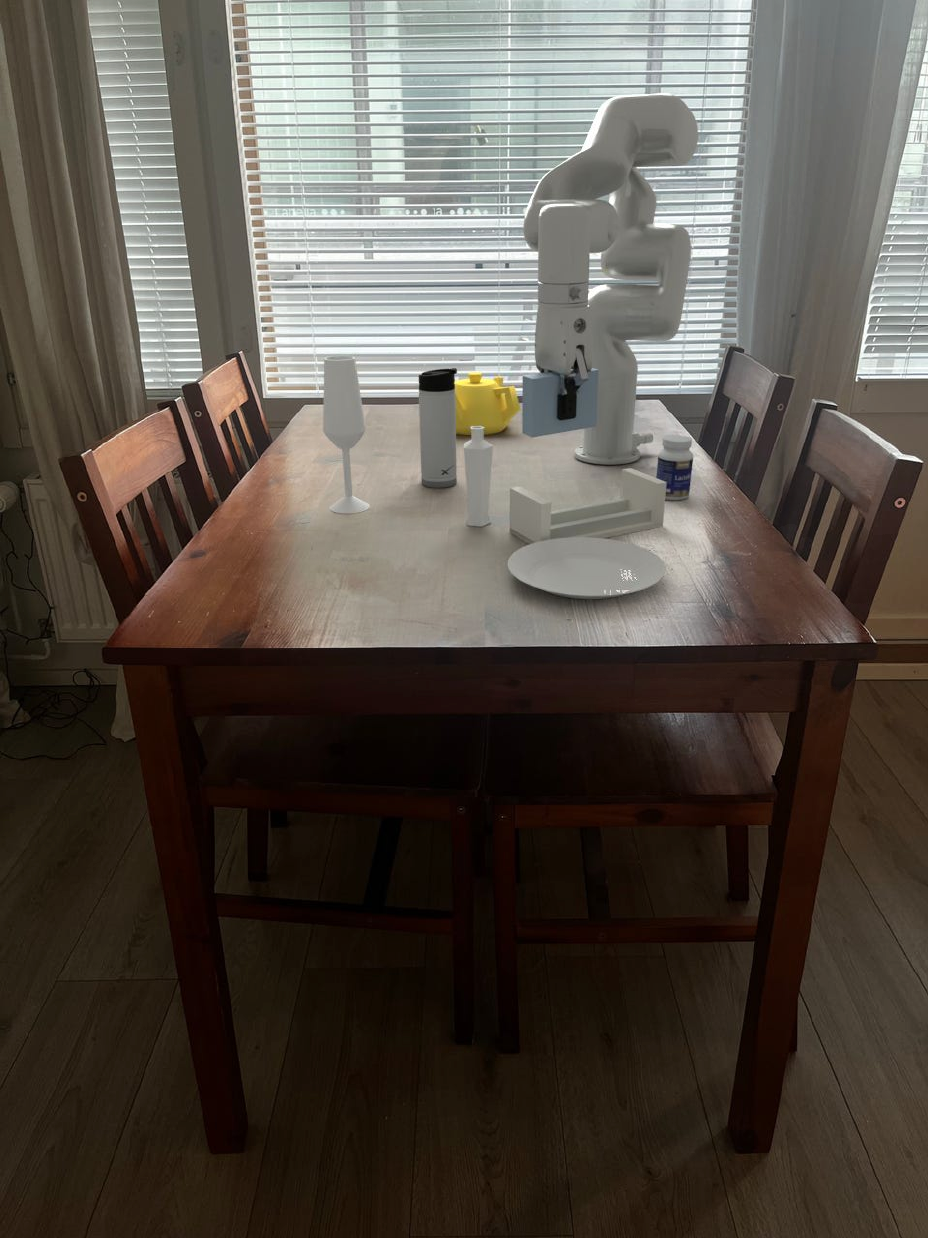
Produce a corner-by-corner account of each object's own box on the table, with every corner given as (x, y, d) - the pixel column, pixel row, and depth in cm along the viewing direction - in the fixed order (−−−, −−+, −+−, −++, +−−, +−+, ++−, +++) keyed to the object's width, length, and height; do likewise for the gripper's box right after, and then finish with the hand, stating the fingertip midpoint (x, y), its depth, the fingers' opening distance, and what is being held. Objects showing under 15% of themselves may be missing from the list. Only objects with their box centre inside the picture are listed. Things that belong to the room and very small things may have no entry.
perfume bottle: (496, 519, 144) (496, 424, 138) (487, 528, 140) (487, 431, 134) (468, 516, 145) (467, 422, 139) (459, 525, 142) (458, 429, 135)
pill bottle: (677, 503, 150) (683, 444, 146) (648, 496, 154) (652, 438, 150) (695, 495, 154) (701, 437, 150) (666, 489, 158) (671, 432, 153)
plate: (554, 624, 110) (555, 607, 109) (482, 565, 127) (482, 550, 126) (697, 594, 117) (698, 578, 116) (610, 543, 134) (611, 528, 133)
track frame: (627, 510, 147) (630, 467, 144) (662, 526, 140) (666, 482, 137) (509, 532, 138) (510, 487, 135) (540, 550, 131) (541, 504, 128)
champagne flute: (321, 510, 149) (309, 360, 139) (341, 499, 154) (331, 353, 144) (358, 515, 146) (348, 362, 136) (377, 503, 152) (369, 355, 142)
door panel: (585, 422, 149) (587, 366, 145) (596, 426, 146) (598, 369, 142) (522, 433, 144) (522, 375, 140) (532, 437, 142) (532, 378, 138)
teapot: (522, 435, 194) (523, 377, 189) (445, 440, 191) (444, 382, 186) (501, 418, 209) (502, 364, 204) (430, 422, 206) (429, 368, 201)
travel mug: (454, 489, 159) (452, 372, 150) (417, 487, 160) (413, 371, 152) (461, 479, 164) (460, 365, 156) (426, 477, 166) (422, 364, 157)
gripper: (615, 298, 131) (609, 424, 139) (554, 286, 144) (552, 402, 152) (571, 302, 128) (568, 431, 136) (513, 290, 141) (513, 408, 149)
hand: (560, 415), depth 144 cm, fingers closed on door panel, 3 cm apart
